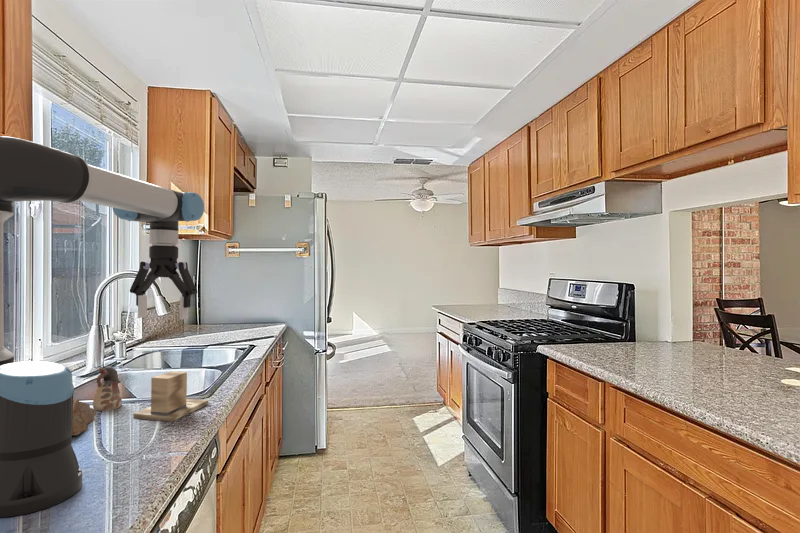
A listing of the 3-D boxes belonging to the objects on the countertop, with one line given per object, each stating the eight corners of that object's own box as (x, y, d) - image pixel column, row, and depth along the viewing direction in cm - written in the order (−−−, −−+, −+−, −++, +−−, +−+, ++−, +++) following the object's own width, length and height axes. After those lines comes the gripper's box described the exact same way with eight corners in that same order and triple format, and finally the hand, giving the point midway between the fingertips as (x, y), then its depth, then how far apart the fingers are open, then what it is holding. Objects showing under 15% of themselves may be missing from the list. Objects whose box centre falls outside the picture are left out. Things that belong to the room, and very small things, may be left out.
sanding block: (167, 415, 123) (167, 378, 123) (150, 414, 124) (151, 377, 124) (186, 407, 131) (186, 372, 131) (170, 405, 132) (171, 371, 132)
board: (172, 421, 122) (172, 416, 122) (133, 417, 125) (133, 413, 125) (208, 404, 138) (208, 400, 138) (173, 401, 140) (173, 397, 140)
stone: (82, 431, 109) (71, 392, 111) (38, 449, 106) (27, 408, 108) (104, 432, 125) (94, 398, 127) (66, 448, 121) (56, 412, 123)
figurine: (126, 406, 135) (127, 365, 135) (99, 412, 129) (100, 370, 129) (114, 402, 139) (115, 362, 139) (88, 407, 133) (89, 366, 133)
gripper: (210, 246, 134) (209, 318, 134) (136, 245, 138) (135, 315, 138) (194, 244, 126) (193, 321, 126) (116, 244, 131) (115, 318, 131)
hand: (162, 318), depth 132 cm, fingers open, 13 cm apart
